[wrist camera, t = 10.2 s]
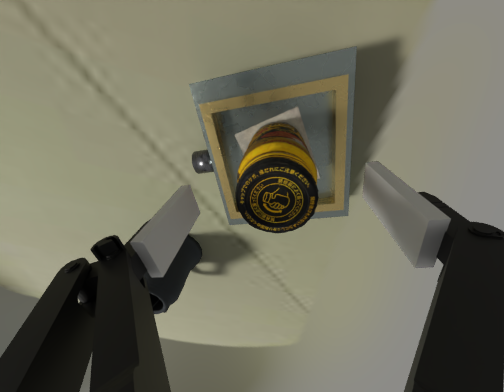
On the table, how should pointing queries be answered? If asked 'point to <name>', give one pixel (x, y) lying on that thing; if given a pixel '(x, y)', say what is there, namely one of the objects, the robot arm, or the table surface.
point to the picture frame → (272, 104)
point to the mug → (173, 276)
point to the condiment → (277, 174)
